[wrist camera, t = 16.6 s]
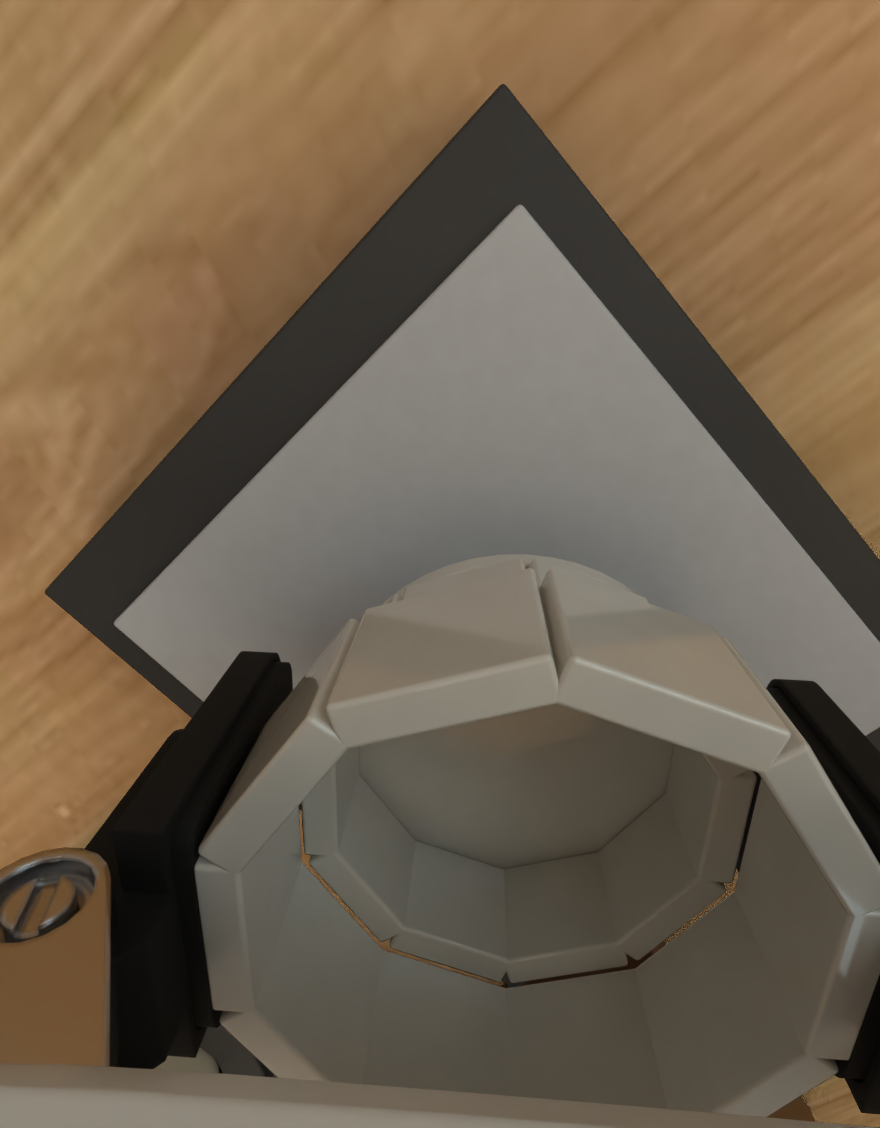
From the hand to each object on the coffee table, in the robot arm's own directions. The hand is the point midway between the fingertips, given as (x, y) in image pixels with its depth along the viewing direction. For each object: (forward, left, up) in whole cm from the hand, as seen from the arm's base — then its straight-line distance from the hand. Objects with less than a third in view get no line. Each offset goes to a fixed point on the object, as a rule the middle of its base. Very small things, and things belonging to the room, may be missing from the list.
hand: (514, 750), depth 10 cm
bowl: (0, 0, -1) cm, 1 cm away
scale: (0, 0, -6) cm, 6 cm away
